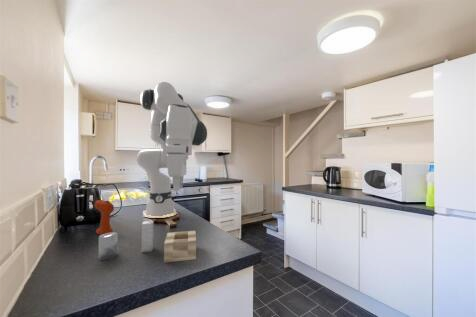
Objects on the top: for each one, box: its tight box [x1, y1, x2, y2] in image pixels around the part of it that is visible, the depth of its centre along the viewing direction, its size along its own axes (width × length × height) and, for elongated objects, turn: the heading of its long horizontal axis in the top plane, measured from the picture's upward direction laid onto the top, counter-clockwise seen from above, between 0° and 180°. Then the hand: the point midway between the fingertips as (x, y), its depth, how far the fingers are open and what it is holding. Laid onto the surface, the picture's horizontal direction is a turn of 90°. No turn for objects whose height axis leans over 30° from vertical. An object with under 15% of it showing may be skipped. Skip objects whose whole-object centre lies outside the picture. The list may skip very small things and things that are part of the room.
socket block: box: [163, 230, 197, 264], centre depth 70 cm, size 10×10×6 cm
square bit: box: [140, 220, 155, 253], centre depth 73 cm, size 3×3×10 cm
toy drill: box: [86, 199, 115, 235], centre depth 92 cm, size 5×19×15 cm, turn 65°
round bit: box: [98, 231, 119, 261], centre depth 68 cm, size 6×6×7 cm
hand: (178, 189), depth 70 cm, fingers open, 8 cm apart
